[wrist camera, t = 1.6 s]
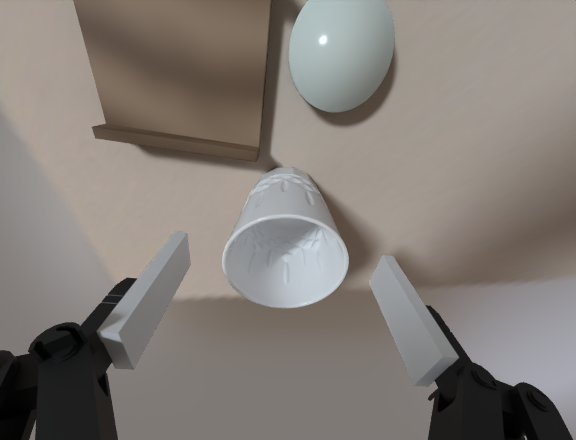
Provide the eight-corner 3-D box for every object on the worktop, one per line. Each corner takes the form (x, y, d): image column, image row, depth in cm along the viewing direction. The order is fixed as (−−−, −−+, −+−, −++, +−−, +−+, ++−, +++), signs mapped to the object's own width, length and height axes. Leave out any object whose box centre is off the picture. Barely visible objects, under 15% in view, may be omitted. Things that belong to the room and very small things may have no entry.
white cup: (304, 144, 19) (320, 191, 11) (335, 212, 23) (364, 287, 14) (231, 182, 21) (194, 248, 12) (270, 240, 25) (263, 320, 16)
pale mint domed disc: (297, -19, 14) (299, -34, 12) (398, 4, 15) (413, -7, 13) (282, 102, 18) (282, 103, 16) (363, 116, 18) (372, 119, 17)
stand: (65, -87, 12) (15, -127, 10) (275, -38, 13) (273, -64, 11) (119, 134, 18) (96, 140, 16) (259, 155, 20) (255, 164, 17)
